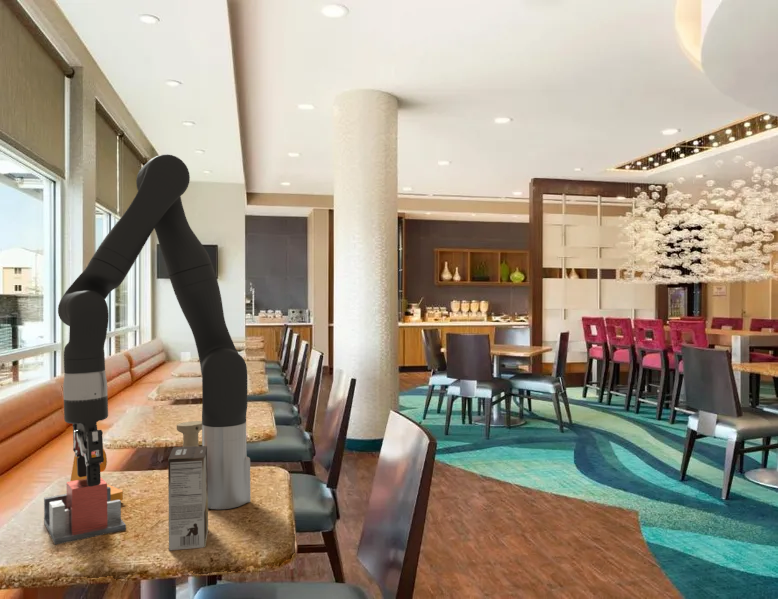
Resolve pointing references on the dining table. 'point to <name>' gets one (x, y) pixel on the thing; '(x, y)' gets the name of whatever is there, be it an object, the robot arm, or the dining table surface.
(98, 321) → the robot arm
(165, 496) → the dining table surface
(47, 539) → the dining table surface
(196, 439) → the handle
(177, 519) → the coffee box
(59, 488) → the dining table surface
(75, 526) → the block
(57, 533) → the bracket
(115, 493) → the bracket
